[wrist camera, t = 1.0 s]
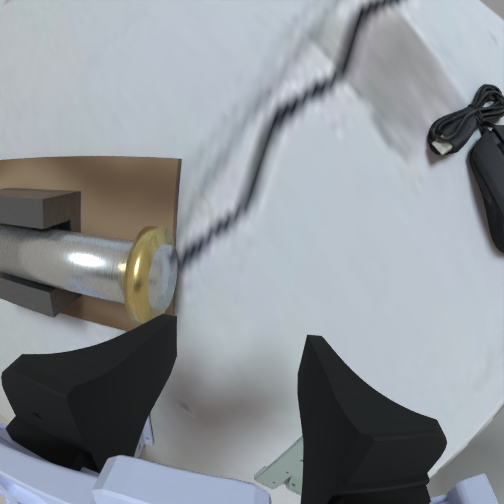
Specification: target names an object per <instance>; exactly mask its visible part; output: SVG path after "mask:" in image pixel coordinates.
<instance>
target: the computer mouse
mask: <svg viewBox="0 0 504 504" xmlns="http://www.w3.org/2000/svg"><path fill="white" fill-rule="evenodd" d="M489 95H492V96H493V98H492V97H489ZM489 100H493V101H495V102H496V103H494V104H492V105H491V106H489V107H483V108H482V106H483V105H484V104H485V102H486V101H489ZM503 116H504V96H503V95H502V92H501V91H500V90H499V88H497V87H496V86H494V85H489V84H488V85H487V84H484V85H482V86H481V87H480V88H479V90H478V92H477V95H476V99H475V101H474V102H473V103H472V104H470V105H468V107H467V108H464V109H462V110H459V111H457V112H454V113H451V114H448V115H446V116H443V117H441V118H439V119H438V120H436V121H435V122H434V123H433V124H432V126H431V128H430V131H429V135H428V142H429V144H430V148H431V150H432V151H433V152H434V153H435V154H439V155H442V156H443V155H447V154H450V153H456V152H458V151H459V150H460V149H461V148H462V147H463V146H464V145H465V144H466V143H467V141H468V140H469V138H470V137H471V135H472V134H473V132H474V131H475V130H476V128H477V127H478V126H479V125H481V126H482V127H483V131H484V134H483V135H482V136H481V138H480V139H479V140H478V141H477V143H476V144H475V146H474V149H473V151H472V157H471V161H470V164H471V167H472V170H473V172H474V175H475V177H476V180H477V182H478V184H479V187H480V190H481V192H482V196H483V199H484V203H485V207H486V213H487V218H488V224H489V229H490V233H491V237H492V239H493V242H494V243H495V245H496V247H497V248H498V249H499V250H500V251H502V252H503V253H504V125H494V124H491V123H488V122H487V120H490V119H494V118H498V117H503ZM485 125H489V126H491V127H493V129H492V131H489V129H488V128H487V126H485Z"/></svg>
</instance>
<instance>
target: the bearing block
mask: <svg viewBox="0 0 504 504" xmlns="http://www.w3.org/2000/svg"><path fill="white" fill-rule="evenodd" d="M0 223H4V224H11V225H18V226H25V227H32V228H39V229H45V228H49V229H56V230H63V231H71V232H78V233H81V191H71V190H50V189H22V188H4V189H0ZM82 295H83V294H80V293H76V292H72V291H68V290H64V289H60V288H56V287H53V286H49V285H45V284H41V283H38V282H34V281H31V280H27V279H24V278H20V277H17V276H14V275H10V274H7V273H4V272H0V298H1V299H4V300H6V301H9V302H11V303H14V304H17V305H19V306H22V307H25V308H28V309H30V310H33V311H36V312H39V313H42V314H45V315H48V316H51V317H55V316H56V315H57V314H59V313H60V312H61V311H63V310H64V309H65V308H66V307H68V306H69V305H70V304H72V303H73V302H74V301H75V300H77V299H78V298H79V297H81V296H82Z"/></svg>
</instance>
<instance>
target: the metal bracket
mask: <svg viewBox="0 0 504 504" xmlns="http://www.w3.org/2000/svg"><path fill="white" fill-rule="evenodd" d="M301 460H303V436H302V437H301V438H300V439H299V440H297V441H296V442H295V443H294V444H293V445H292V446H291V447H290V448H289V449H288V450H287V451H286V452H284V453H283V454H282V455H281V456H280V457H279V458H278V459H277V460H275V461H274V462H273V463H272V464H271V465H270V466H268V467H265V466H264V467H263V468H262V469H261V470H260V471H258V472H257V473H256V474H255V475H254V479H255V480H256V481H257V482H259V483H261V484H262V485H264V486H266V487H268V488H270V489H275V488H277V487H278V486H280V485H281V484H285V485H286V488H287V489H288V490H290V491H292V492H294V493H296V494H299V495H301V494H302V478H303V461H301ZM274 482H275V483H274Z"/></svg>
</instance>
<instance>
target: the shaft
mask: <svg viewBox="0 0 504 504" xmlns="http://www.w3.org/2000/svg"><path fill="white" fill-rule="evenodd" d="M177 271H178V259H177V252H176V249H175V245H174V239H173V236H172V233H171V231H170V230H169V229H168V228H166V227H157V226H146V227H144V228H143V229H142V230H141V231H140V232H139V233H138V235H137V236H136V238H135V240H129V239H122V238H114V237H107V236H100V235H92V234H85V233H78V232H71V231H63V230H56V229H49V228H45V229H39V228H32V227H25V226H18V225H11V224H4V223H0V272H4V273H7V274H10V275H14V276H17V277H20V278H24V279H27V280H31V281H34V282H38V283H41V284H45V285H49V286H53V287H56V288H60V289H64V290H68V291H72V292H76V293H80V294H84V295H88V296H92V297H97V298H101V299H105V300H110V301H114V302H119V303H124V304H125V307H126V310H127V313H128V315H129V317H130V319H131V320H132V321H133V322H135V323H140V324H144V323H146V322H148V321H149V320H151V319H153V318H155V317H157V316H159V315H161V314H164V313H165V311H166V309H167V308H168V307H169V305H170V303H171V300H172V298H173V294H174V291H175V286H176V280H177Z"/></svg>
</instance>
